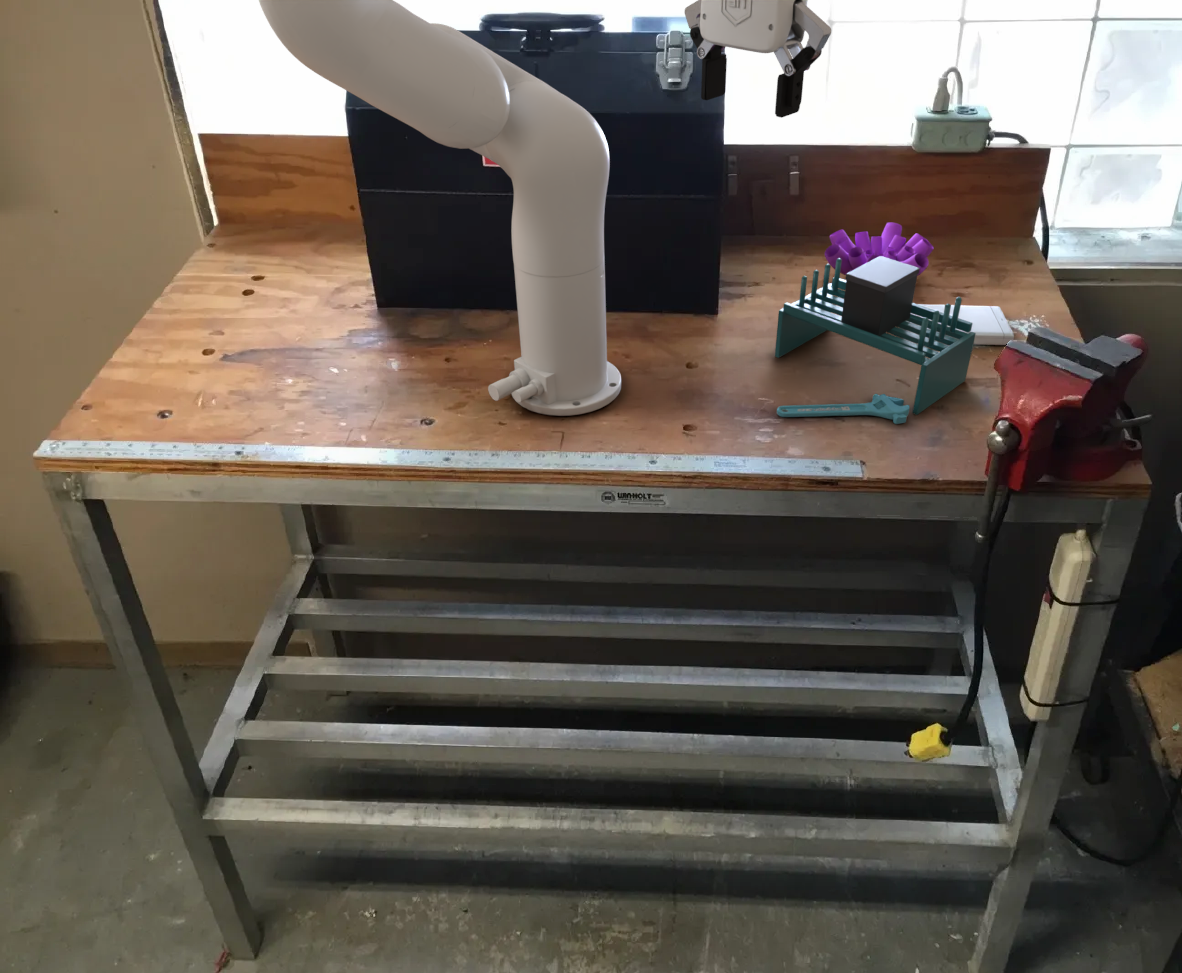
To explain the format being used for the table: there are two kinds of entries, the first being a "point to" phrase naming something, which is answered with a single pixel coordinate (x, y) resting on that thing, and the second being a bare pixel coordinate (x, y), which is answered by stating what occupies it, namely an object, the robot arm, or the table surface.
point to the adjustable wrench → (852, 409)
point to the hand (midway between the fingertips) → (749, 105)
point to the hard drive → (981, 323)
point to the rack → (885, 335)
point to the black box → (879, 295)
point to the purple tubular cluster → (878, 249)
